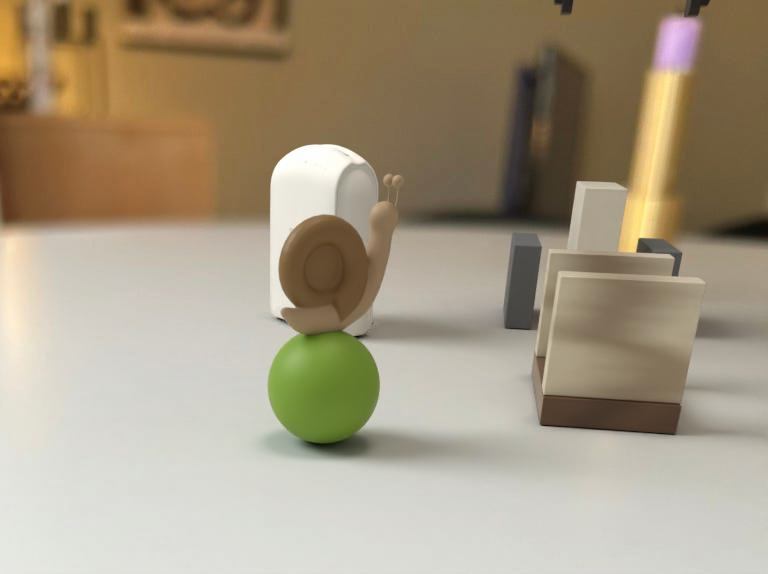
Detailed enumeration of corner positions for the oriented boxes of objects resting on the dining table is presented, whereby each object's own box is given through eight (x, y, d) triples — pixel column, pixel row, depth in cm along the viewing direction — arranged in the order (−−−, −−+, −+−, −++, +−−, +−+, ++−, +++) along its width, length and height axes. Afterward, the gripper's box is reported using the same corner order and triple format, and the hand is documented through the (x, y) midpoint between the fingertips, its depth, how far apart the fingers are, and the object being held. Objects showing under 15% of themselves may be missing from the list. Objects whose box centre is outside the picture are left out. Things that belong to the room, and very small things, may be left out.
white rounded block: (261, 316, 79) (263, 141, 73) (308, 312, 80) (313, 141, 75) (329, 341, 71) (336, 147, 65) (379, 336, 73) (391, 147, 67)
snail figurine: (414, 445, 49) (437, 178, 44) (305, 464, 46) (314, 179, 40) (350, 418, 53) (364, 170, 48) (246, 434, 50) (248, 171, 44)
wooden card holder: (645, 380, 62) (669, 253, 59) (676, 434, 52) (708, 283, 48) (531, 373, 63) (548, 248, 60) (539, 424, 53) (560, 276, 49)
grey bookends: (649, 316, 83) (664, 238, 80) (666, 337, 75) (683, 252, 72) (503, 308, 84) (512, 232, 82) (504, 327, 77) (514, 244, 74)
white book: (594, 314, 83) (615, 182, 78) (603, 332, 76) (628, 189, 71) (557, 312, 83) (576, 181, 79) (563, 330, 76) (585, 187, 72)
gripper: (563, -308, 60) (526, 9, 68) (813, -316, 58) (746, 12, 66) (556, -267, 66) (523, 18, 74) (781, -273, 64) (723, 21, 72)
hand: (628, 15), depth 70 cm, fingers open, 8 cm apart
